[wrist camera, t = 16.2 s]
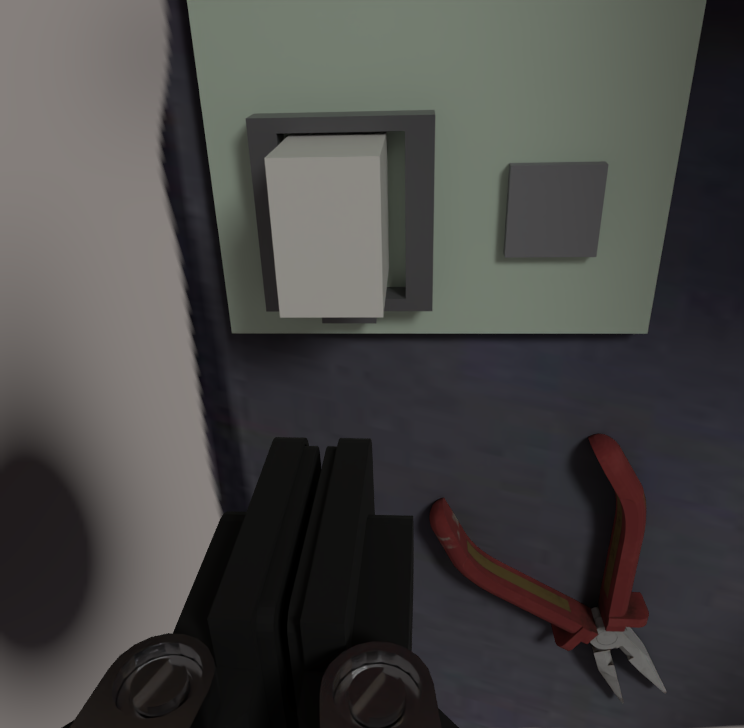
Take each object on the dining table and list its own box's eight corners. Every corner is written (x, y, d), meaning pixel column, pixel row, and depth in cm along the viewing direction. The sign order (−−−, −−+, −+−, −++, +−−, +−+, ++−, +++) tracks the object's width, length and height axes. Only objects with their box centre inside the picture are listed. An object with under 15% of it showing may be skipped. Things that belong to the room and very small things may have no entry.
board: (743, -274, 23) (765, -293, 21) (641, 324, 33) (651, 339, 31) (162, -240, 24) (146, -256, 22) (236, 325, 34) (228, 338, 33)
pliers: (557, 704, 46) (565, 740, 44) (419, 498, 39) (420, 528, 37) (724, 653, 43) (741, 688, 41) (608, 418, 36) (622, 445, 34)
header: (434, 109, 28) (435, 114, 26) (431, 310, 32) (432, 323, 31) (253, 113, 28) (245, 118, 27) (273, 310, 32) (267, 323, 31)
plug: (386, 129, 28) (379, 156, 23) (389, 281, 31) (383, 336, 26) (292, 131, 29) (264, 157, 23) (304, 282, 32) (281, 336, 26)
